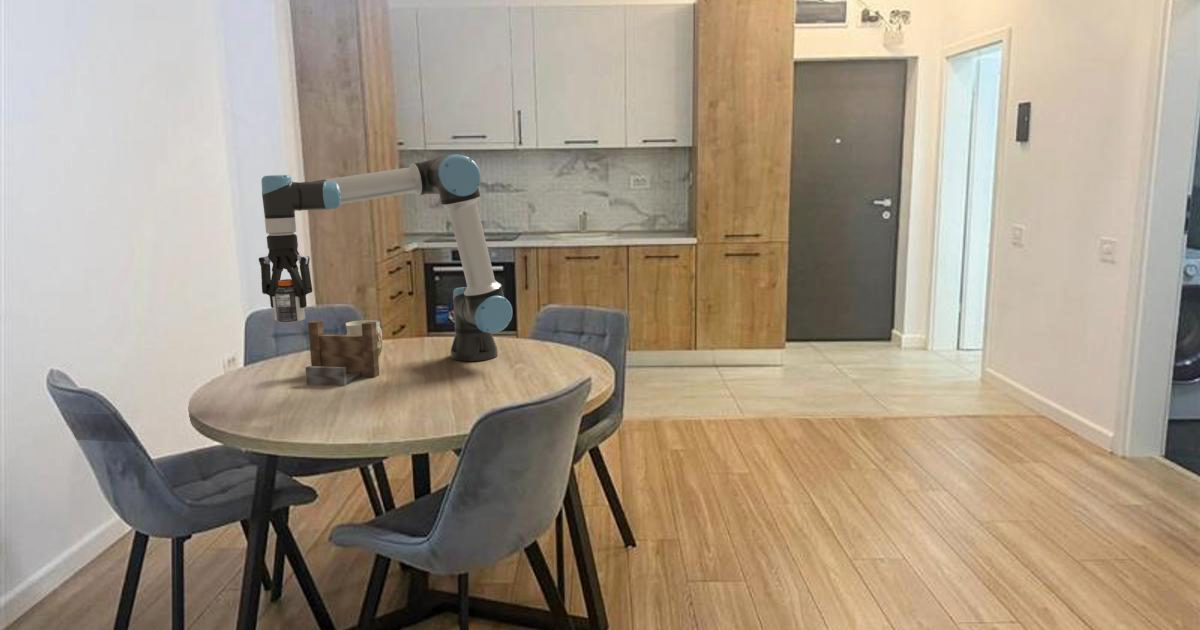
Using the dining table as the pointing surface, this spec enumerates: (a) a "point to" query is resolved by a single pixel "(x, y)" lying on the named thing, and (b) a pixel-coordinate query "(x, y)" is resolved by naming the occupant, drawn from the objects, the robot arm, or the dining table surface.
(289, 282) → the pill bottle
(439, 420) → the dining table surface
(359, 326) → the pitcher
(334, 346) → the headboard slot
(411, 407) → the dining table surface
